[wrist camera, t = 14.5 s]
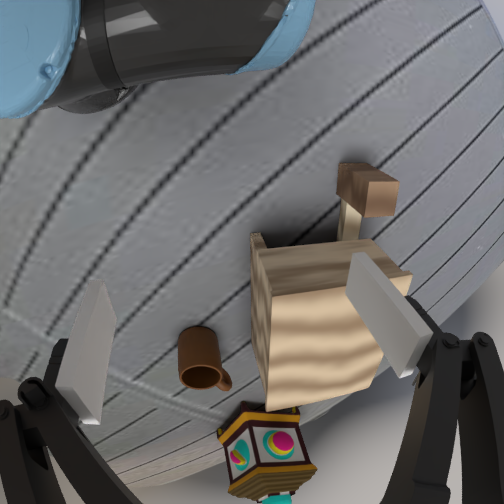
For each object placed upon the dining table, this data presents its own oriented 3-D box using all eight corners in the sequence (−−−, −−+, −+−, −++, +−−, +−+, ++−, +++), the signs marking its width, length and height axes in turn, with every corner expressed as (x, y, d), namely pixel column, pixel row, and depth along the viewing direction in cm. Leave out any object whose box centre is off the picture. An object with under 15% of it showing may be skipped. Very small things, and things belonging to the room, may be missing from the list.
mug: (240, 348, 60) (248, 386, 52) (212, 366, 61) (217, 403, 53) (198, 318, 54) (201, 358, 46) (169, 339, 55) (169, 378, 47)
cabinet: (247, 230, 47) (272, 296, 33) (362, 221, 50) (416, 273, 36) (249, 344, 59) (266, 411, 46) (340, 328, 62) (371, 386, 49)
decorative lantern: (268, 435, 84) (291, 518, 58) (209, 431, 76) (225, 525, 51) (304, 402, 76) (338, 497, 51) (239, 396, 69) (264, 509, 43)
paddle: (338, 163, 44) (369, 181, 36) (366, 163, 44) (399, 181, 37) (322, 303, 57) (340, 336, 50) (345, 299, 58) (365, 330, 51)
